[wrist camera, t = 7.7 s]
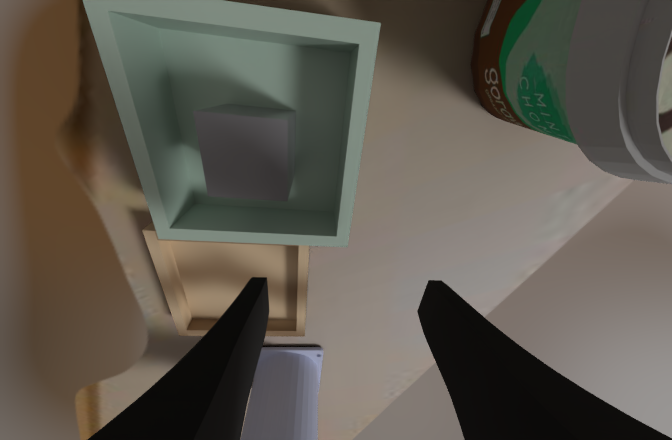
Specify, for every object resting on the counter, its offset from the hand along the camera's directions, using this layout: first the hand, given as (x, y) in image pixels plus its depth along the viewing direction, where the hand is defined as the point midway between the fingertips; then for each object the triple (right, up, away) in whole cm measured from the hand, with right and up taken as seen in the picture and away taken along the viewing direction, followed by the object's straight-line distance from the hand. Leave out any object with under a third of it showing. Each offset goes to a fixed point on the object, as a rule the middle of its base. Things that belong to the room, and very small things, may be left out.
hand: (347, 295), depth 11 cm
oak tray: (-9, -2, +11) cm, 14 cm away
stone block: (-5, +8, +5) cm, 11 cm away
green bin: (-5, +9, +5) cm, 11 cm away
